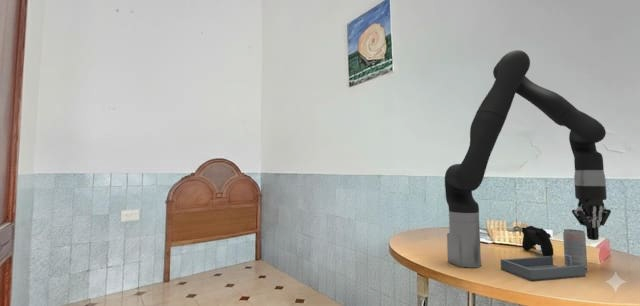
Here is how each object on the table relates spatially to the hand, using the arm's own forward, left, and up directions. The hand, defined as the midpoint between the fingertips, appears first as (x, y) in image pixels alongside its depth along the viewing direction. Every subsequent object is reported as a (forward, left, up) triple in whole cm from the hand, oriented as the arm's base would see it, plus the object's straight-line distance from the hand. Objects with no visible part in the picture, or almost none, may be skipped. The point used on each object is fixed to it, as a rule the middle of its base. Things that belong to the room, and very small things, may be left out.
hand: (593, 239), depth 97 cm
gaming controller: (-2, +18, -9) cm, 20 cm away
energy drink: (-7, 0, -9) cm, 12 cm away
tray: (-20, 0, -9) cm, 22 cm away
